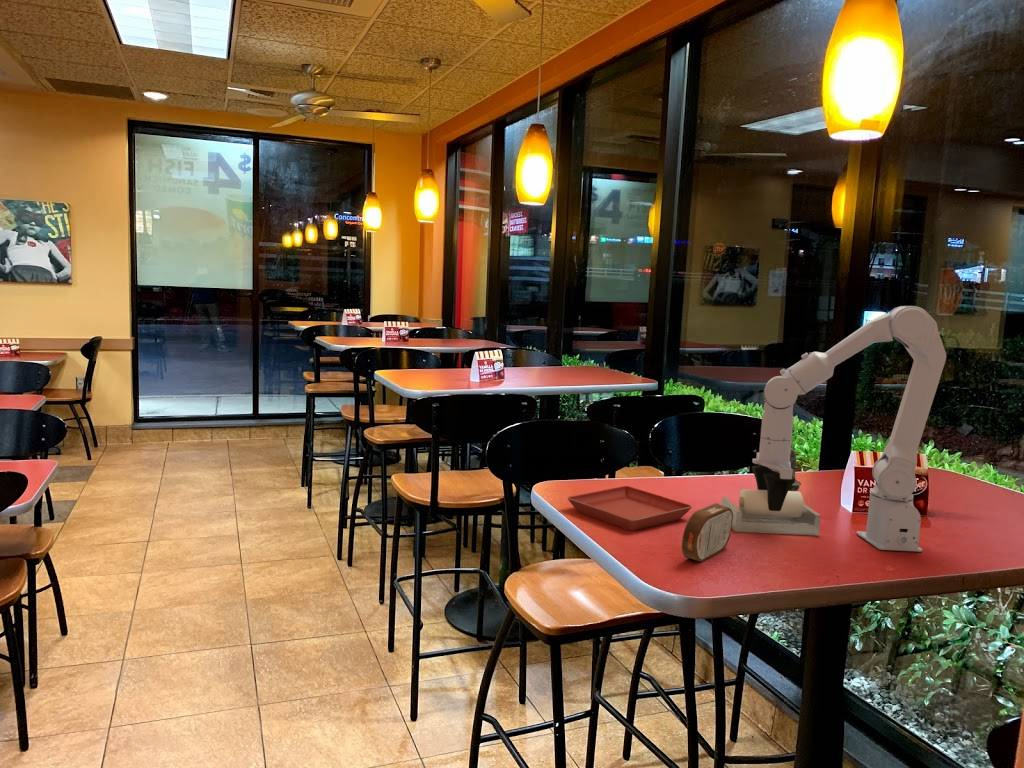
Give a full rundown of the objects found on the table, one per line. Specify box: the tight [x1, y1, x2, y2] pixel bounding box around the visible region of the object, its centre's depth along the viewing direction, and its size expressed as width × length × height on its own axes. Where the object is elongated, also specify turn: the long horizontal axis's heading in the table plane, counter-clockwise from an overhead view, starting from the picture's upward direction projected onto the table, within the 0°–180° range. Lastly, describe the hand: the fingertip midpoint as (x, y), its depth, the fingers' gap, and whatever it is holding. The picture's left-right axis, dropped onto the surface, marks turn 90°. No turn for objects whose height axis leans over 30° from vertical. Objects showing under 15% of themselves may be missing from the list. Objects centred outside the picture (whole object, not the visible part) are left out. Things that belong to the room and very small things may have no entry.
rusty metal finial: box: [789, 445, 802, 491], centre depth 173 cm, size 6×6×12 cm
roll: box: [738, 488, 805, 517], centre depth 150 cm, size 5×12×5 cm, turn 91°
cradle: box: [720, 496, 821, 537], centre depth 150 cm, size 10×16×4 cm, turn 91°
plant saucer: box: [567, 485, 693, 531], centre depth 153 cm, size 18×18×3 cm
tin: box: [681, 502, 733, 563], centre depth 131 cm, size 15×3×8 cm, turn 141°
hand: (769, 506), depth 150 cm, fingers closed on roll, 5 cm apart
